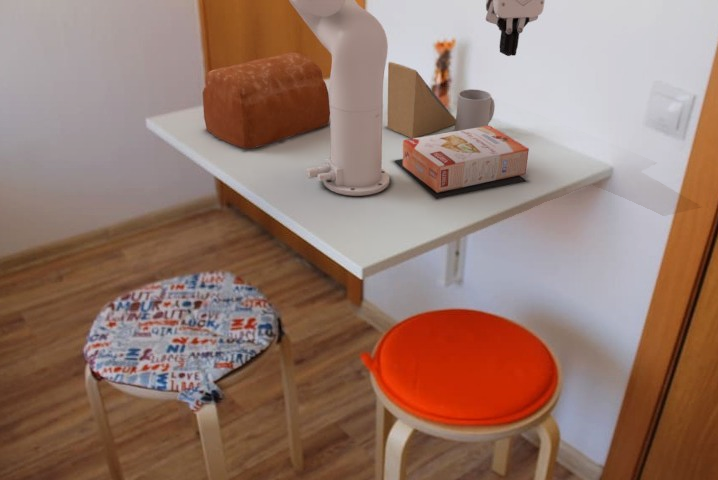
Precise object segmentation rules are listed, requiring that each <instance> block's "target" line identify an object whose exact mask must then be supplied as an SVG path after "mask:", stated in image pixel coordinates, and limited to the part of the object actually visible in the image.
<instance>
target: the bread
mask: <svg viewBox="0 0 718 480" xmlns="http://www.w3.org/2000/svg"><path fill="white" fill-rule="evenodd" d="M204 80H205V81H204V82H205V86H204V87H203V90H202V103H203V104H202V105H203V106H202V108H203V119H204V125H205V129H206V131H207V132H208V133H210V134H211V135H213V136H215V137H216V138H217V139H219V140H222V141H224V142H226V143H229V144H230V145H234V146H237V147H239V148H244V149H254V148H258V147H261V146H264V145H269V144H271V143H274V142H277V141H280V140H283V139H286V138H290V137H293V136H296V135H300V134H303V133H306V132H310V131H313V130H316V129H319V128H321V127H324V126H327V125H328V124H330V96H329V91H328V87H327V83H326V81H325V80H324V78H323V71H322V69H321V67H320V66H319V65H318V64H316V63H315V62H314V61H313V60H312V59H310V58H308V57H307V56H305V55H303V54H302V53H298V52H293V51H289V52H285V53H282V54H279V55H275V56H269V57H263V58H258V59H253V60H249V61H247V62H243V63H238V64H234V65H229V66H228V67H218V68H215V69H212V70H209V71H208V72H207V73H206V75H205V77H204Z"/></svg>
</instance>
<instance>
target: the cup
mask: <svg viewBox="0 0 718 480" xmlns="http://www.w3.org/2000/svg"><path fill="white" fill-rule="evenodd" d="M456 102H457V104H456V115H455V119H456V124H455V127H454V128H455V130H454V131H460V130H466V129H472V128H478V127H484V126H489V123H490V122H491V121H492V119H493V117H494V114H495V100H494V99H493V97H492V94H491V93H490V92H489V91H486V90H482V89H475V88H474V89H473V88H472V89H471V88H470V89H469V88H467V89H461V90H459V92H458V93H457V101H456Z"/></svg>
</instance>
